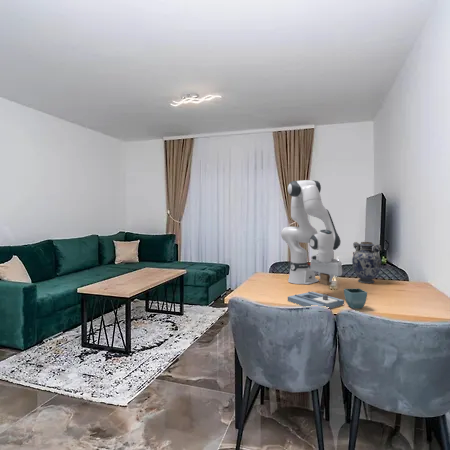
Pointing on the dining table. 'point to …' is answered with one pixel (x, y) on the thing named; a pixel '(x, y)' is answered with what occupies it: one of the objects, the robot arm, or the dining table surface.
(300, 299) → the puzzle board
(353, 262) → the decorative vase
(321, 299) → the lid
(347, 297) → the flower pot
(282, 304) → the dining table surface
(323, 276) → the walnut block
